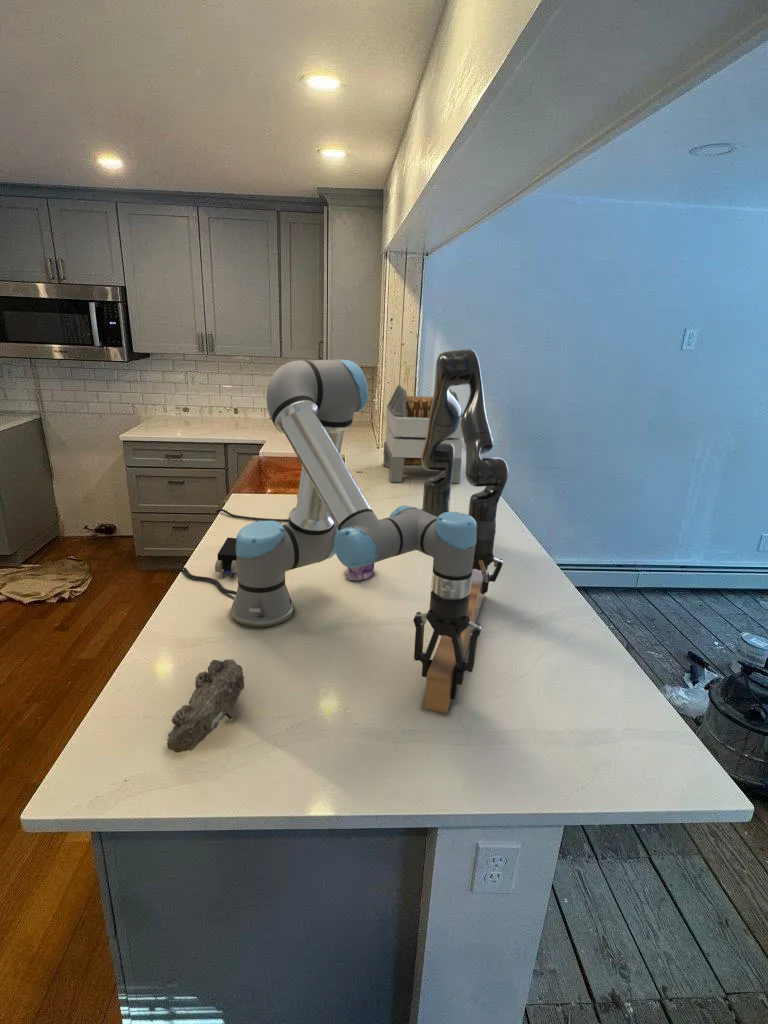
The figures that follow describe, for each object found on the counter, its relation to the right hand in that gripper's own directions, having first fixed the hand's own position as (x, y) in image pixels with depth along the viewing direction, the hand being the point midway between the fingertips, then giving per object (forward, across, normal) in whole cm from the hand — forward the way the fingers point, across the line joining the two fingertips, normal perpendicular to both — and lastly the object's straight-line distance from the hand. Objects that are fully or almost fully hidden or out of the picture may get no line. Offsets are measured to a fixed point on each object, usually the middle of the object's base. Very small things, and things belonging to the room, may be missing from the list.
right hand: (473, 591), depth 153 cm
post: (+4, 0, -21) cm, 21 cm away
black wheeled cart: (+4, -70, -6) cm, 71 cm away
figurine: (+4, -34, +5) cm, 35 cm away
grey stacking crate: (+4, -45, +120) cm, 128 cm away
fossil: (+4, -40, -63) cm, 75 cm away
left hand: (+3, 0, -41) cm, 41 cm away
